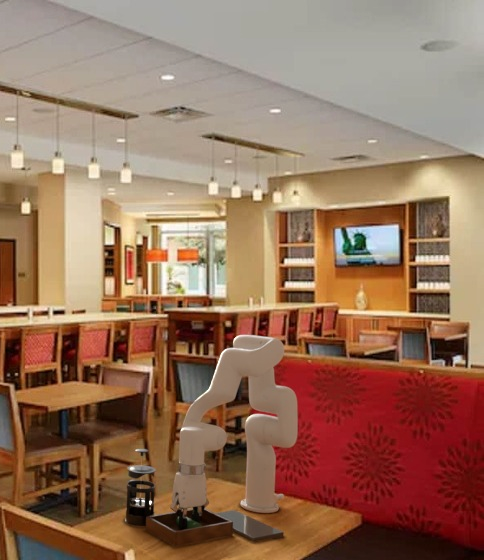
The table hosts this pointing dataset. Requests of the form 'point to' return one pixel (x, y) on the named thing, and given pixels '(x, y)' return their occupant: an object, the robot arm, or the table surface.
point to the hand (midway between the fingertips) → (189, 528)
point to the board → (250, 527)
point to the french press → (140, 506)
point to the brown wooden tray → (172, 534)
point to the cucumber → (189, 523)
